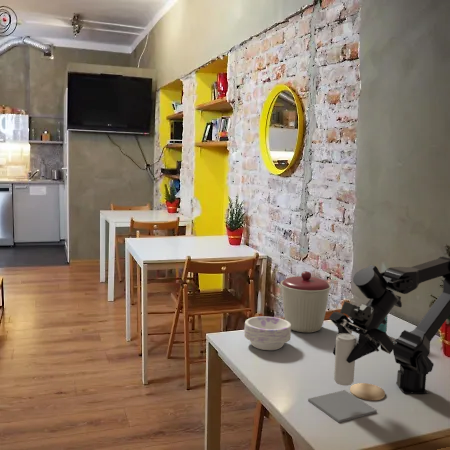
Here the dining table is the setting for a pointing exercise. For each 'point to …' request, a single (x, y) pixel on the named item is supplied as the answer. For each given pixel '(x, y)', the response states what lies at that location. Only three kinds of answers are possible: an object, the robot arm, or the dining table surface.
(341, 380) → the beverage can
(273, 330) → the paper bowls
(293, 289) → the canister
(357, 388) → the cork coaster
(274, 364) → the dining table surface
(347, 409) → the slate coaster
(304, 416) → the dining table surface
